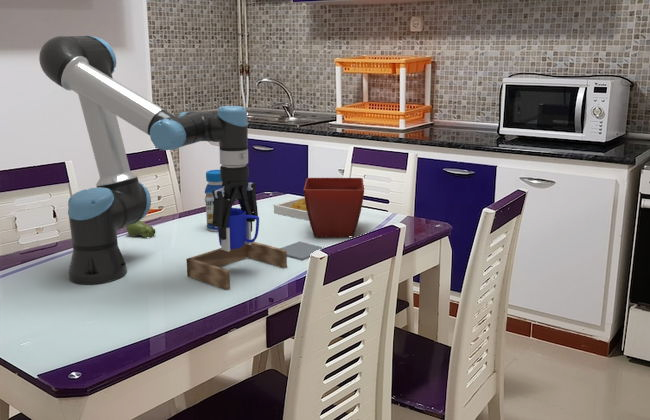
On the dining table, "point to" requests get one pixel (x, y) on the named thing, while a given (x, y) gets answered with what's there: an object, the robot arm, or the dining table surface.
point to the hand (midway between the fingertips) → (236, 246)
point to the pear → (141, 229)
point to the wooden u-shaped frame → (210, 262)
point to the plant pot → (334, 205)
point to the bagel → (299, 205)
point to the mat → (300, 250)
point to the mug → (239, 228)
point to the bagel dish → (290, 210)
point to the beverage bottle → (211, 195)
